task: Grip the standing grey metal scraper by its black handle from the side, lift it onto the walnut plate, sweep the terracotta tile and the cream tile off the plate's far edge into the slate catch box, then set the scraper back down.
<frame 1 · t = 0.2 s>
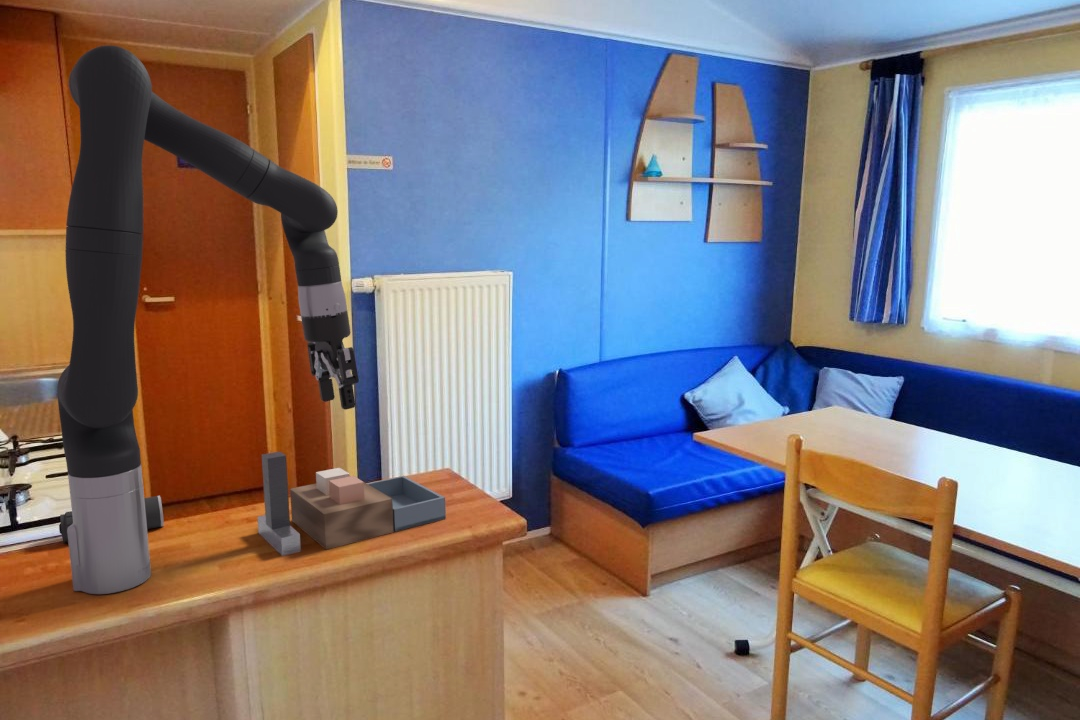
hand: (338, 404, 129), 22 cm above the countertop, fingers open, 8 cm apart
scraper: (279, 542, 126), on the countertop
terracotta tile: (347, 498, 129), point 6 cm above the countertop, touching walnut plate
cream tile: (333, 489, 134), point 6 cm above the countertop, touching walnut plate
flashlight: (116, 535, 130), on the countertop
catch box: (400, 512, 139), on the countertop
walnut plate: (341, 526, 133), on the countertop
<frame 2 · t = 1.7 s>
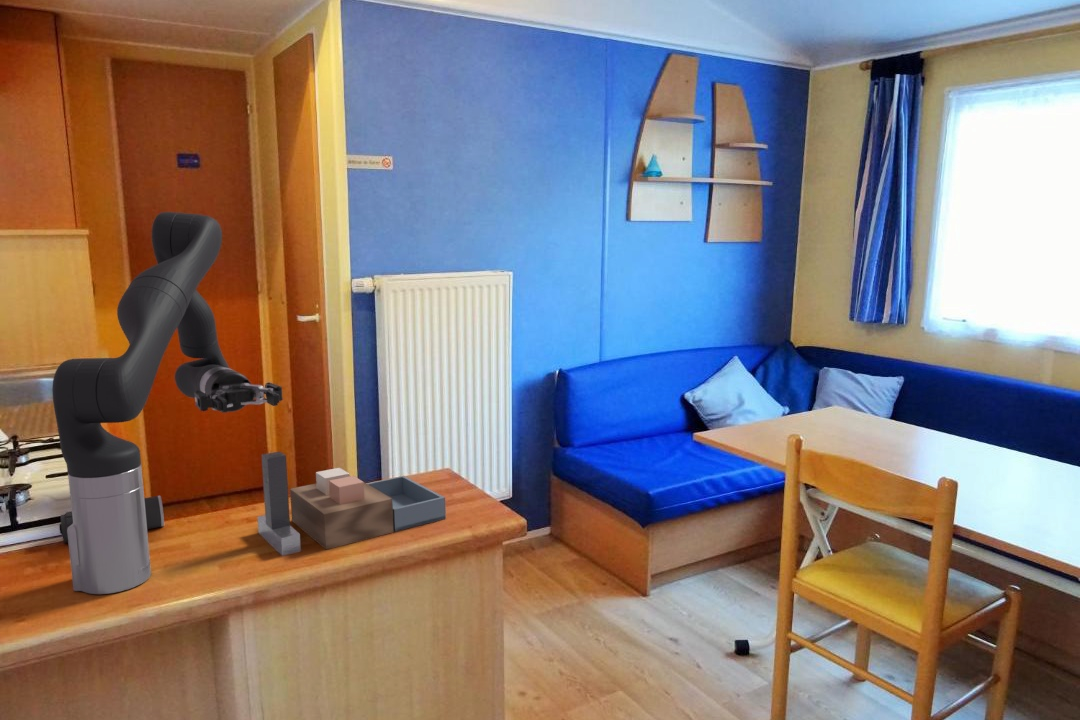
hand: (250, 403, 131), 22 cm above the countertop, fingers open, 8 cm apart
nothing on the countertop moved.
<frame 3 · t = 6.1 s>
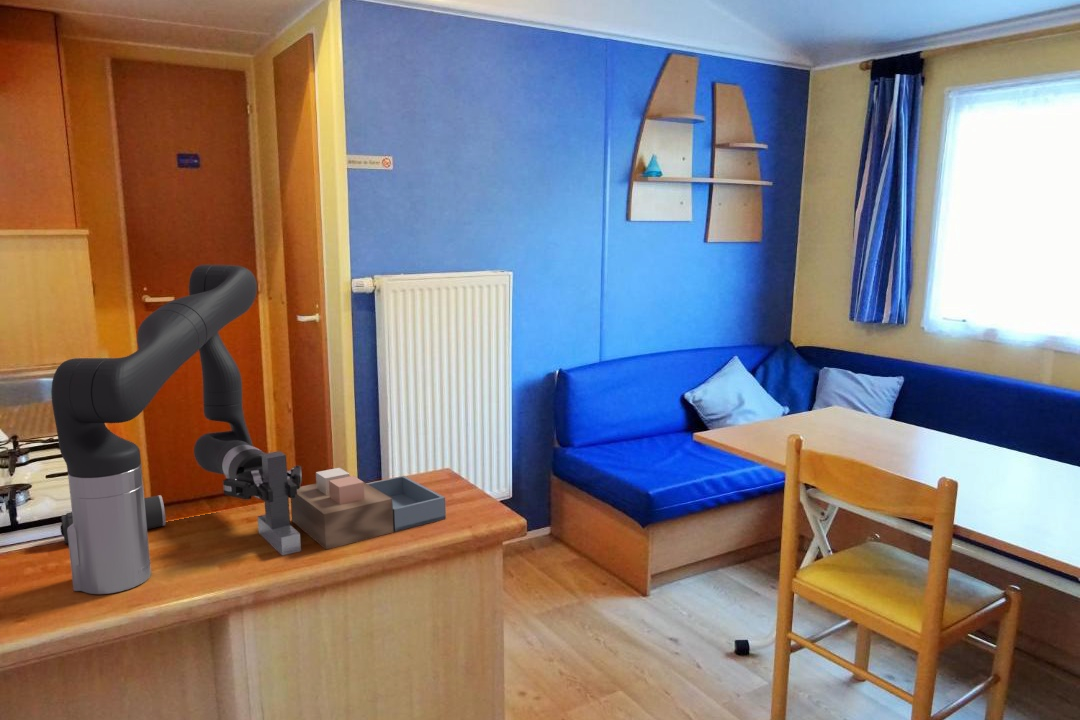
hand: (282, 494, 122), 9 cm above the countertop, fingers closed on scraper, 3 cm apart
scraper: (279, 541, 126), on the countertop, touching gripper
everything else where it was.
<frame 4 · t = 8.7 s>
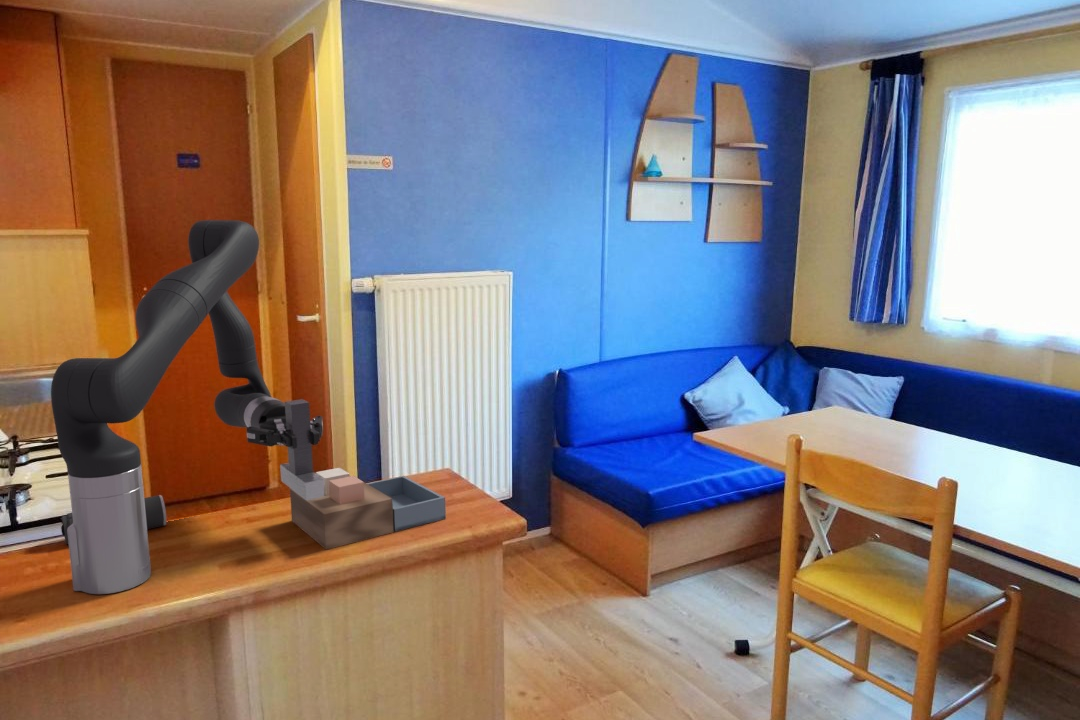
hand: (305, 440, 124), 17 cm above the countertop, fingers closed on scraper, 3 cm apart
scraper: (302, 488, 128), point 8 cm above the countertop, touching gripper
everything else where it was.
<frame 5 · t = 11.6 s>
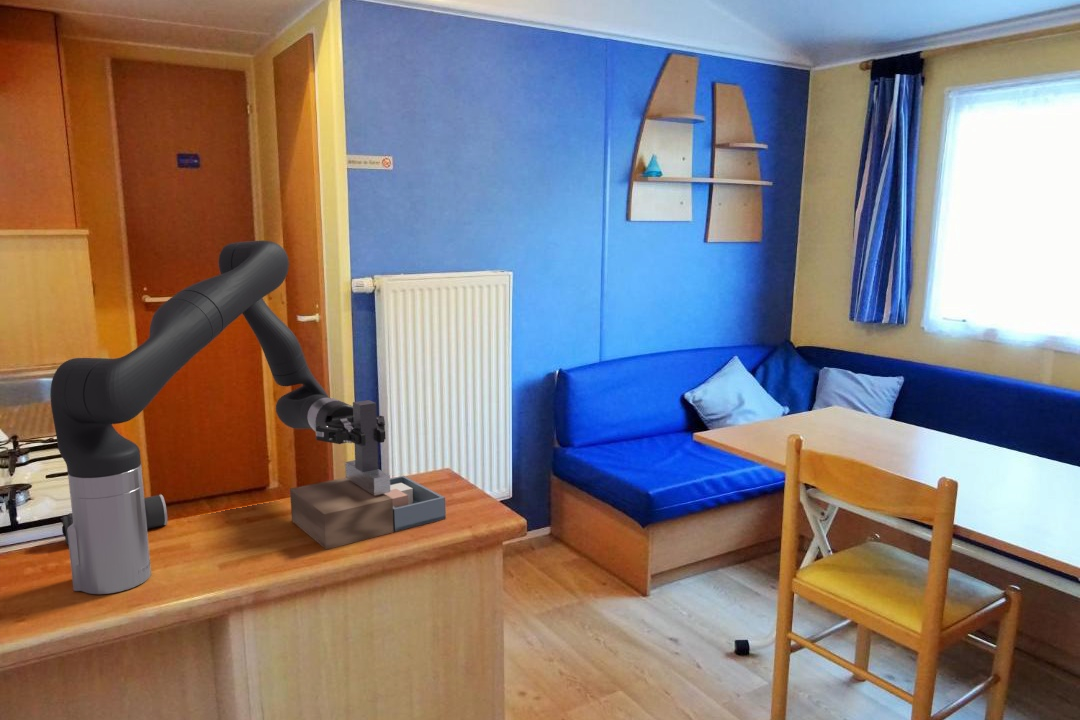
hand: (373, 438, 131), 16 cm above the countertop, fingers closed on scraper, 3 cm apart
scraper: (367, 484, 135), point 6 cm above the countertop, touching gripper
terracotta tile: (387, 507, 134), point 3 cm above the countertop, tilted 90°, touching catch box
cream tile: (396, 487, 142), point 4 cm above the countertop, tilted 180°, touching catch box
everything else where it was.
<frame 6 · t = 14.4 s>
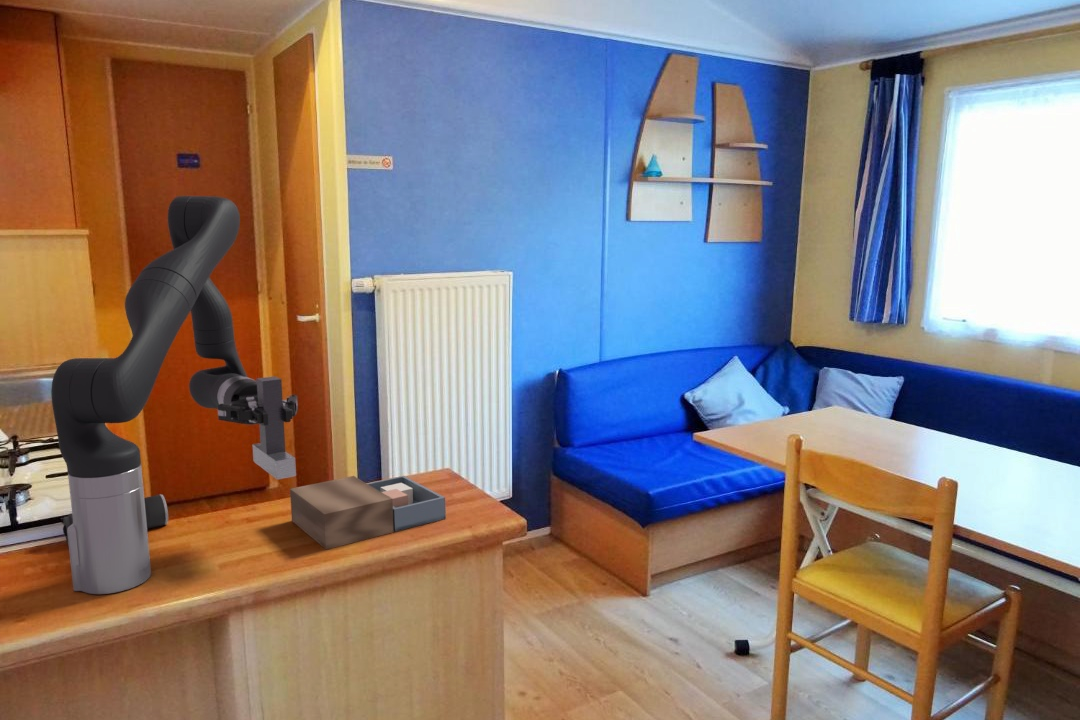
hand: (277, 417, 120), 22 cm above the countertop, fingers closed on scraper, 3 cm apart
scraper: (274, 468, 124), point 13 cm above the countertop, touching gripper
everything else where it was.
when the fingers open (10 cm above the countertop, at t = 16.9 s): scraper stays where it is, on the countertop.
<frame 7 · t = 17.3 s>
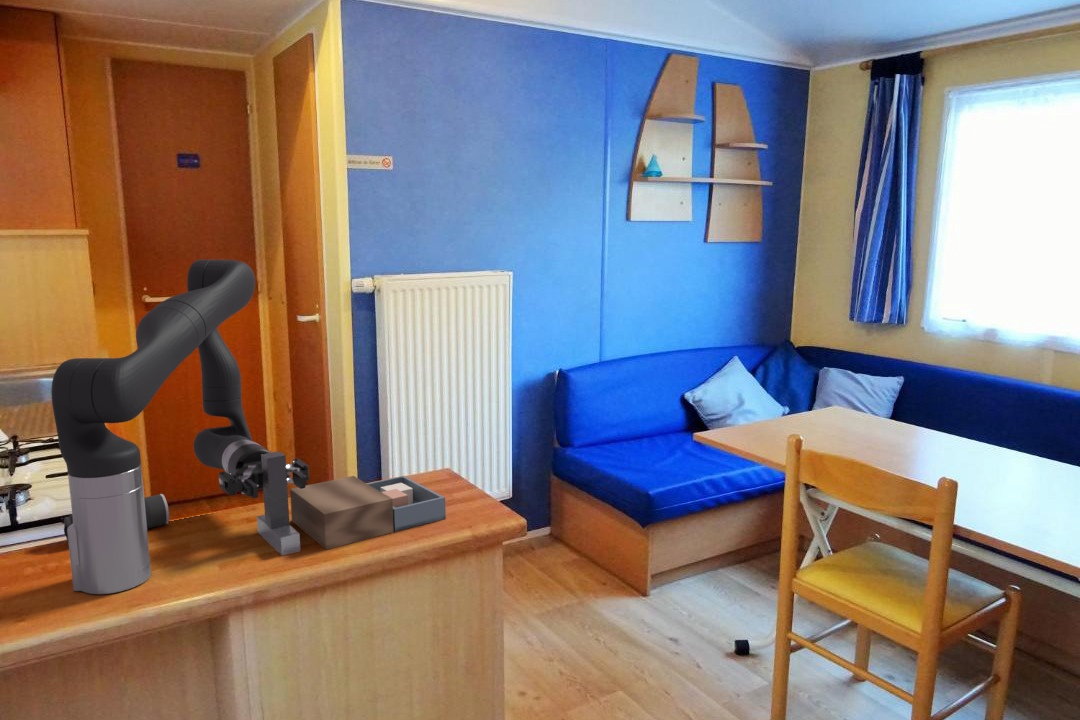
hand: (279, 487, 123), 10 cm above the countertop, fingers open, 7 cm apart
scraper: (278, 541, 126), on the countertop
everything else where it was.
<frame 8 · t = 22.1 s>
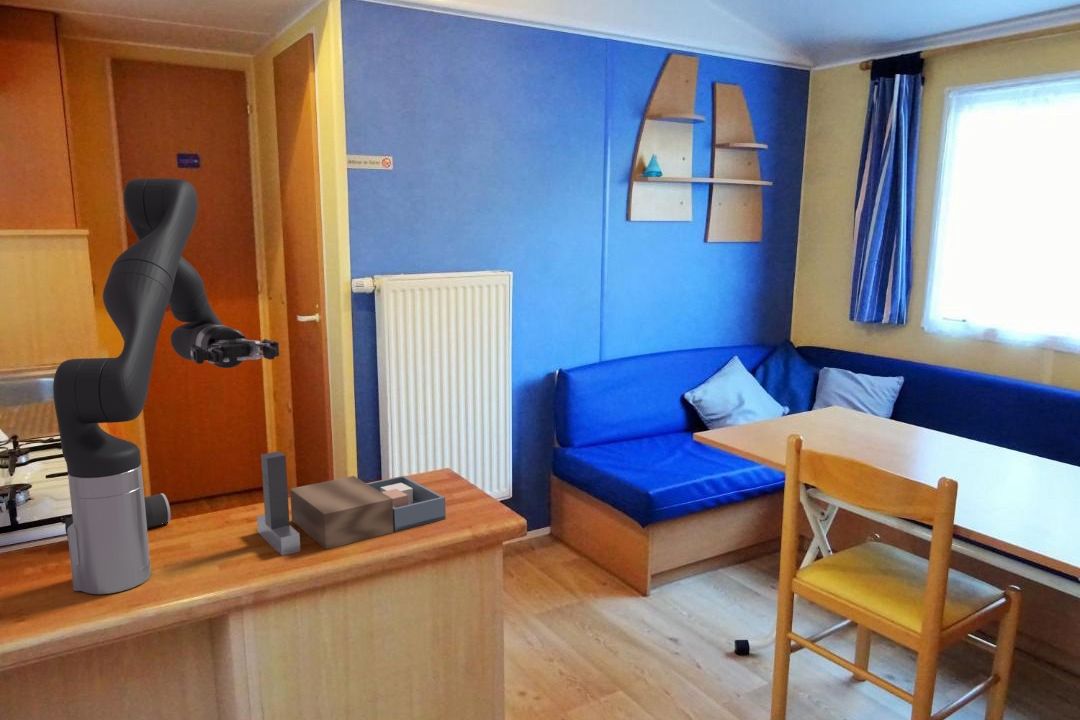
hand: (247, 355, 130), 30 cm above the countertop, fingers open, 8 cm apart
at the end: terracotta tile inside the target area (5.1 cm from its centre), point 2.8 cm above the countertop; cream tile inside the target area (3.4 cm from its centre), point 3.6 cm above the countertop; the gripper is holding nothing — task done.
